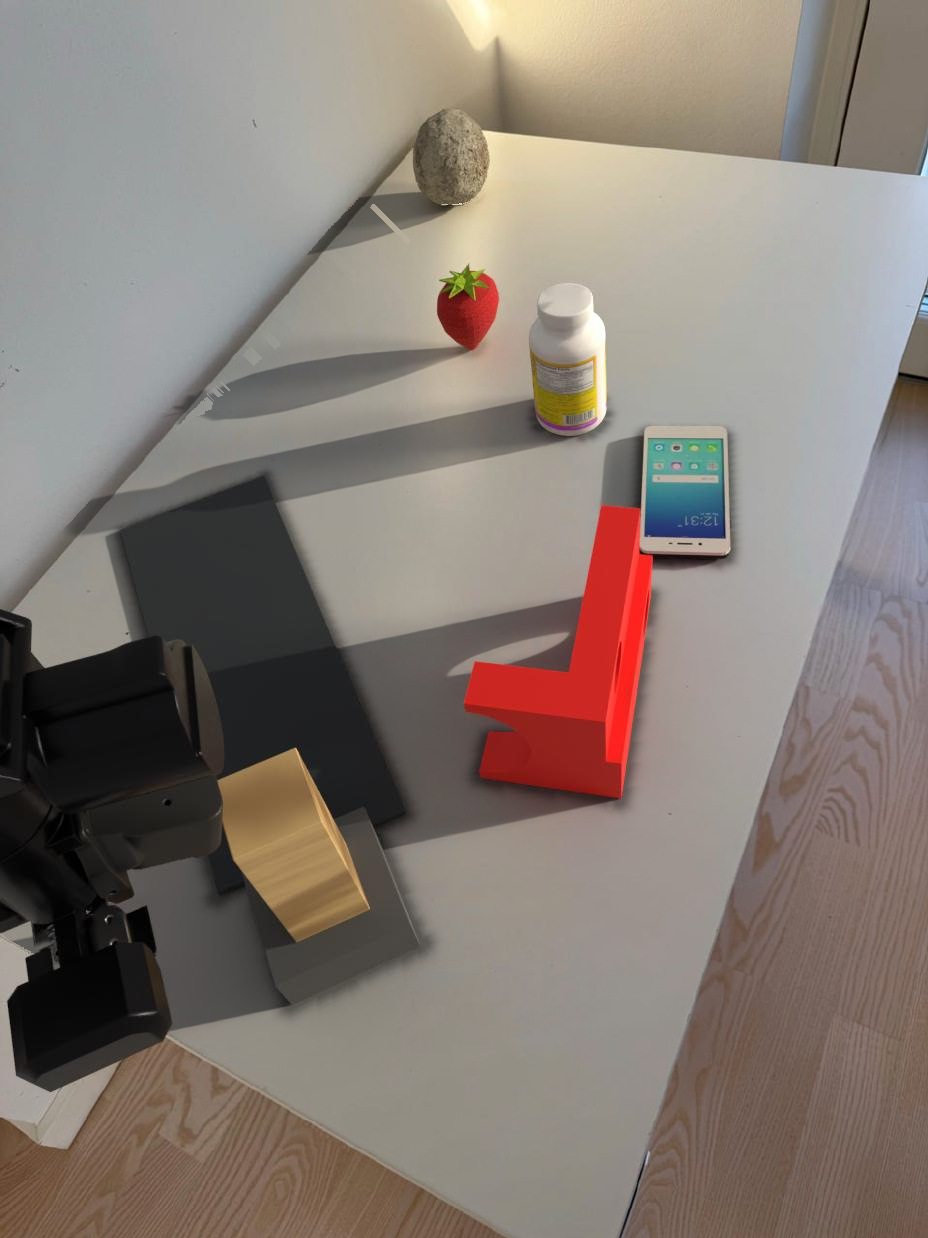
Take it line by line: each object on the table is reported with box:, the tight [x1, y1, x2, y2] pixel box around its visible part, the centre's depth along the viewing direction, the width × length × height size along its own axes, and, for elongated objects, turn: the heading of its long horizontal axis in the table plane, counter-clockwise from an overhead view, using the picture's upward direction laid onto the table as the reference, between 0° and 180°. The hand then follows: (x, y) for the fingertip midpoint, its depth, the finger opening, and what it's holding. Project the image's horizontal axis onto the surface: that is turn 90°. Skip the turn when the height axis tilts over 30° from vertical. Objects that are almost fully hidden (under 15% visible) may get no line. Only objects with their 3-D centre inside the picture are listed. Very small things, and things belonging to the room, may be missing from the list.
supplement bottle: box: [528, 282, 608, 437], centre depth 88 cm, size 7×7×13 cm
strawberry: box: [436, 263, 500, 351], centre depth 97 cm, size 6×8×10 cm
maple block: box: [217, 748, 370, 942], centre depth 59 cm, size 5×5×13 cm
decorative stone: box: [412, 107, 491, 207], centre depth 114 cm, size 10×8×10 cm
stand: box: [241, 807, 421, 1005], centre depth 66 cm, size 9×9×4 cm
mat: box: [119, 475, 407, 895], centre depth 81 cm, size 38×14×1 cm, turn 23°
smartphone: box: [639, 425, 732, 560], centre depth 85 cm, size 8×1×15 cm
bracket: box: [463, 504, 654, 799], centre depth 72 cm, size 18×10×10 cm
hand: (132, 931), depth 54 cm, fingers open, 4 cm apart
